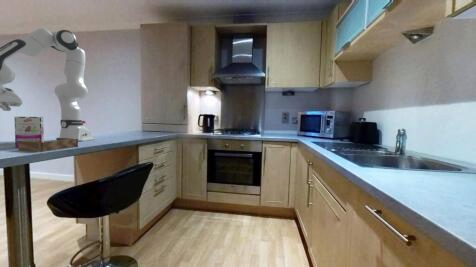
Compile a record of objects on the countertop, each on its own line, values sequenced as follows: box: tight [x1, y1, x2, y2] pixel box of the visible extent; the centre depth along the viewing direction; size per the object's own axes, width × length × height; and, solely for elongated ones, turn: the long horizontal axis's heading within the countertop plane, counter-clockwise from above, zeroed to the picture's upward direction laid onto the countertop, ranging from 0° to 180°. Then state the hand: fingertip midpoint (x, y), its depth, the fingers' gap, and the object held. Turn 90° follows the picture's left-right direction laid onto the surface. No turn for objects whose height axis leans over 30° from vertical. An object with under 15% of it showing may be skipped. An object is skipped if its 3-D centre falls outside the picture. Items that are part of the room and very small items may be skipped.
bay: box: [18, 137, 79, 152], centre depth 126 cm, size 21×13×4 cm, turn 170°
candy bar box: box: [14, 116, 45, 148], centre depth 128 cm, size 11×5×16 cm, turn 117°
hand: (7, 110), depth 130 cm, fingers closed
